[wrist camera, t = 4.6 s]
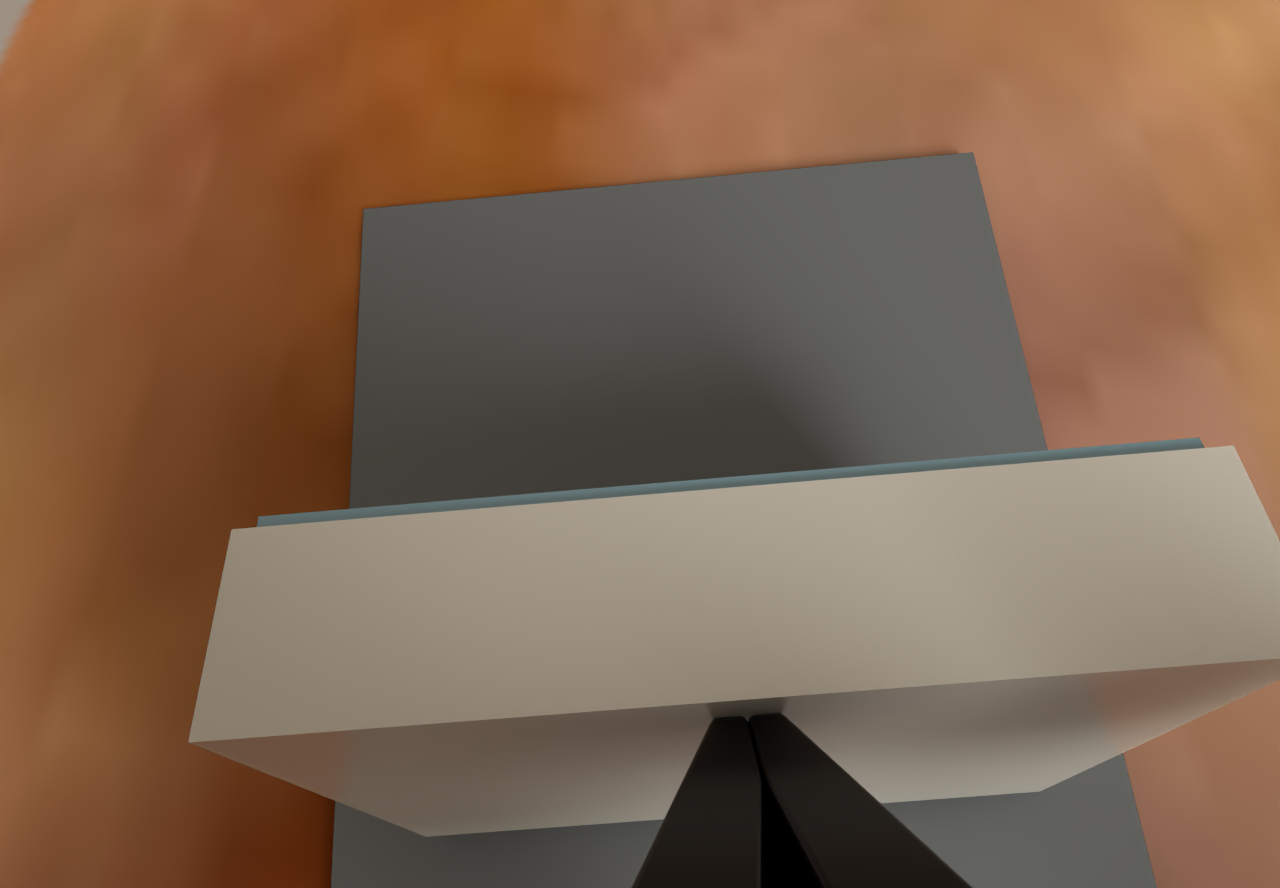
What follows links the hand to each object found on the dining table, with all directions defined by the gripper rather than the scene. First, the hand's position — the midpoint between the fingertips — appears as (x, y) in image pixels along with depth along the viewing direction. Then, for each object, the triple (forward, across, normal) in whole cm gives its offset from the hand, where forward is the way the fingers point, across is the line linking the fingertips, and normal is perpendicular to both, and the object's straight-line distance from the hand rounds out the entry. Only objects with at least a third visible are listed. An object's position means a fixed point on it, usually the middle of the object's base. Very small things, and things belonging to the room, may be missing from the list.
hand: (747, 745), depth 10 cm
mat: (+9, 0, -3) cm, 9 cm away
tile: (+6, 0, -6) cm, 8 cm away
